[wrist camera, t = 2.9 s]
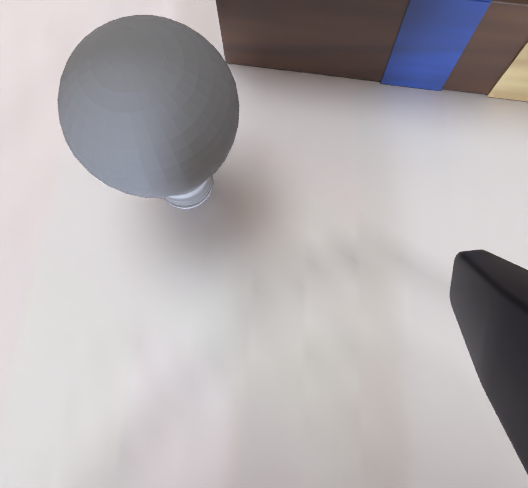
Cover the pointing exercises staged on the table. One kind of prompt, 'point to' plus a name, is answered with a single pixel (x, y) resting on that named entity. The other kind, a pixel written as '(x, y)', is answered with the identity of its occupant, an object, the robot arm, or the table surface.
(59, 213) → the table surface
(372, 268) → the table surface
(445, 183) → the table surface
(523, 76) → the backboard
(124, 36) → the light bulb
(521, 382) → the robot arm
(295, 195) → the table surface
